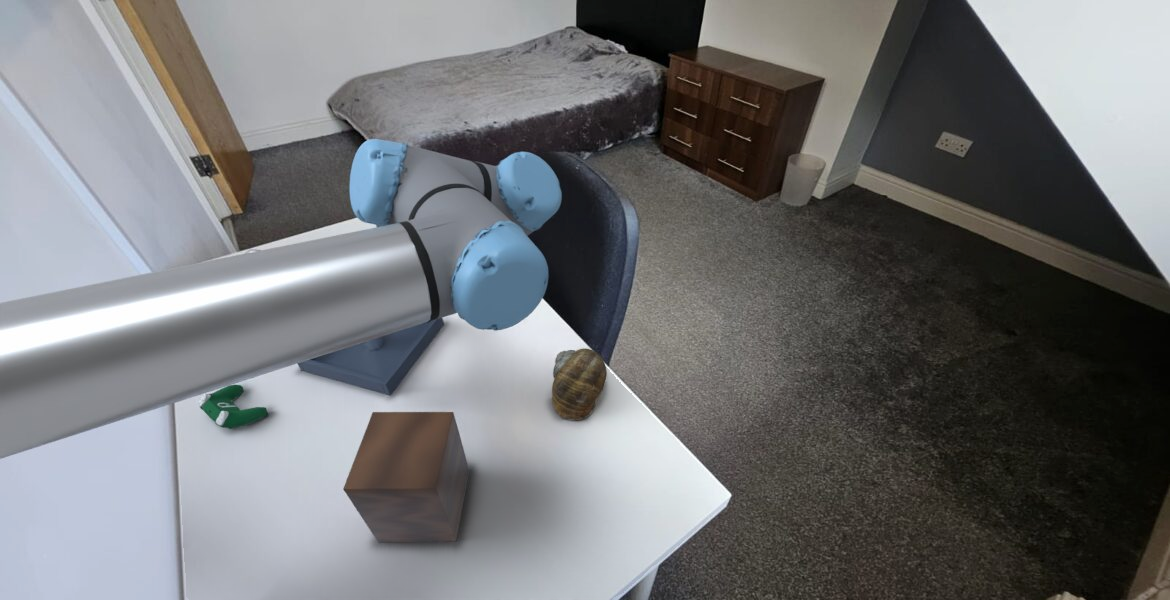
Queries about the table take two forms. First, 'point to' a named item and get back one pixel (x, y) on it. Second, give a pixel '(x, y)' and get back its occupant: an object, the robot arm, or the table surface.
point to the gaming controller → (229, 408)
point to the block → (410, 477)
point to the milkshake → (374, 343)
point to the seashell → (577, 382)
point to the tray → (376, 359)
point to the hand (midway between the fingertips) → (400, 298)
